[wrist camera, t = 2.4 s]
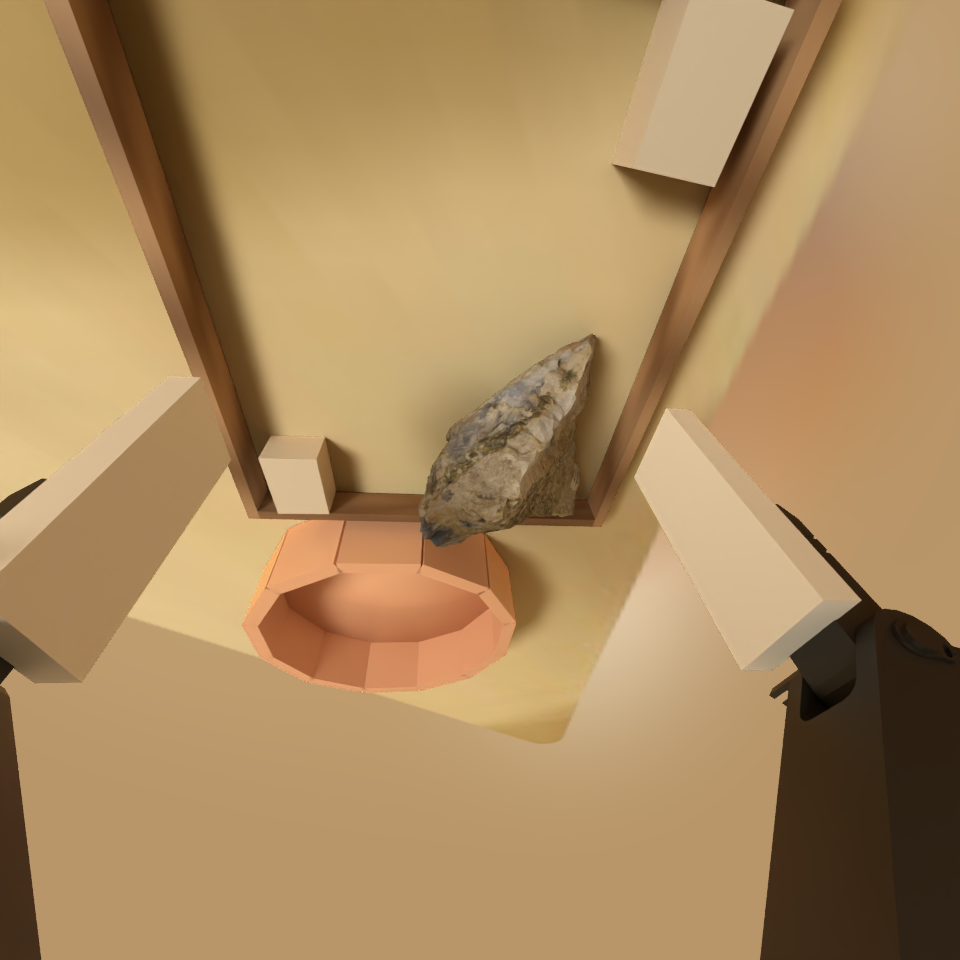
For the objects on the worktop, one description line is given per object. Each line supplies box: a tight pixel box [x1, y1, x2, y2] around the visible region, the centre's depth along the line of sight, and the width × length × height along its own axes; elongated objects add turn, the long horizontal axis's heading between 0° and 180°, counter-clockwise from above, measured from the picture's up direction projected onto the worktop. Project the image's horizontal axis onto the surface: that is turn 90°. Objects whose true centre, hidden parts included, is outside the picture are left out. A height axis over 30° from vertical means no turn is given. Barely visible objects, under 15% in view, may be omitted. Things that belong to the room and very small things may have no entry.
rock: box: [418, 334, 596, 547], centre depth 19 cm, size 11×6×10 cm
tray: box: [44, 0, 842, 527], centre depth 17 cm, size 23×21×2 cm
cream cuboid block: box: [258, 435, 336, 514], centre depth 22 cm, size 4×3×2 cm
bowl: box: [242, 520, 516, 693], centre depth 30 cm, size 18×18×4 cm
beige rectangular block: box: [612, 0, 794, 187], centre depth 13 cm, size 4×3×2 cm
